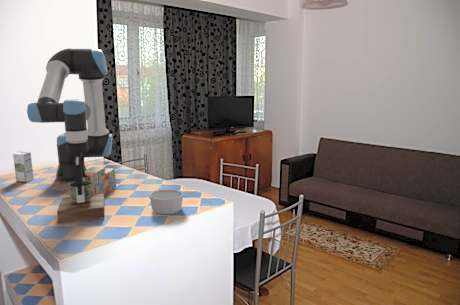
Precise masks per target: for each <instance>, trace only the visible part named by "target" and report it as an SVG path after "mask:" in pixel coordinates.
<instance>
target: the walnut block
mask: <svg viewBox="0 0 460 305" xmlns="http://www.w3.org/2000/svg"><path fill="white" fill-rule="evenodd" d="M91 196H92V198H91V199H90V200H88V201H85V202H83V203H77V202H73V201H71V198H72V197H71V196H63V197H61V199H60V202H59V205H58V208H57V211H56V214H57V224H67V223H77V222H86V221H94V220H104V219H105V208H106V207H105V205H106V204H105V194H94V195H91Z"/></svg>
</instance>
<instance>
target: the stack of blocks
mask: <svg viewBox="0 0 460 305" xmlns="http://www.w3.org/2000/svg"><path fill="white" fill-rule="evenodd" d="M86 169H87V170H85V175H87V177H83V178H85V180H88V181H91V182H92V184H91V186H92V188H93V193H92V194H91V195H94V194H104V195H106V194H107V193H109V192H110V191H113V190H114V189H115V188H116V187H117V184H116V183H117V180H116V179H117V178H116V177H117V176H116V168H109V167H104V166H103V167H102V166H99V167H98V166H91V167H90V168H86Z"/></svg>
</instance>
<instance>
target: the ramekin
mask: <svg viewBox="0 0 460 305" xmlns="http://www.w3.org/2000/svg"><path fill="white" fill-rule="evenodd" d="M183 198H184V192H183V191H181V190H178V189H176V188H175V189H174V188H163V189H158V190H154V191H152V192H150V194H149V200H150V205H151V206H150V207H151V210H152V212H154V213H155V214H157V215H161V216H169V215H175V214H177V213H179V212H180V211H181V209H182V207H183Z"/></svg>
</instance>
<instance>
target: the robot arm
mask: <svg viewBox="0 0 460 305" xmlns="http://www.w3.org/2000/svg"><path fill="white" fill-rule="evenodd" d="M106 60H107V59H106V57H105V54H104V52H103V50H102V49H95V48H65V49H61V50H59V51H58V52H56V53H54V54H53V55H52V56H51V57H50V58H49V59H48V61H47V63H46V66H45V72H46V74H45V77H44V80H43V84H42V86H41V90H40V92H39V96H38V99H37V101H36V102H30V103H29V104H28V105H27V108H26V113H27V118H28V120H29V121H30V122H31V123H41V124H42V123H43V124H44V123H45V124H47V123H64V130H65V132H64V133H62V134H59V135H58V136H57V137H56V148H57V160H58V166H57V169H56V174H55V179H56V181H59V182H67V183H71V182H74V181H75V185H73V186H74V187H76V197H77V203H83V202H85V197H84V185H83V180H85V178H83V177H87V175H85V170H87V169H88V168H87V166H86V165H85V158H105V157H110V156H111V154H112V151H113V150H112V149H113V134H111V133H110V131H109V129H107V126H106V117H105V106H104V93H103V92H104V91H103V80H105V76H106V75H108V65H107V61H106ZM70 75H78V79H79V80H80V81H81V82H82V86H83V87H82V88H83V96H84V97H83V98H84V99H66V100H63V102H60V100H61V95H62V91H63V88H64V84H65V81H66V79H67V78H68V77H69V76H70Z"/></svg>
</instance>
